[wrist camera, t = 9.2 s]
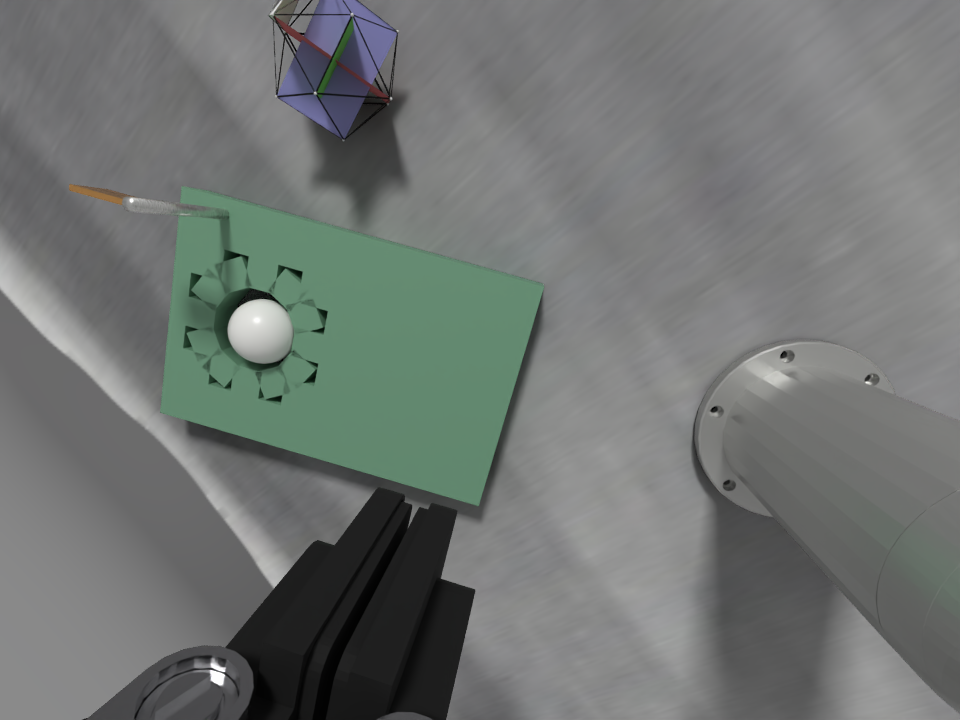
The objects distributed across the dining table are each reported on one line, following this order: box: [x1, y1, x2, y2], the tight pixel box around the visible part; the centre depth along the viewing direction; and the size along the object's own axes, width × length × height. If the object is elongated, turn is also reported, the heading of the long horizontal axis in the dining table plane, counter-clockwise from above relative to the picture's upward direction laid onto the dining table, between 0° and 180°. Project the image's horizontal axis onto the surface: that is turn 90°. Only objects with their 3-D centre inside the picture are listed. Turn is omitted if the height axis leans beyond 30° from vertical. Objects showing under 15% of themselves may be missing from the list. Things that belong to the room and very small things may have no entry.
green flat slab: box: [160, 186, 544, 506], centre depth 33 cm, size 24×16×2 cm, turn 75°
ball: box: [228, 299, 294, 364], centre depth 32 cm, size 4×4×4 cm
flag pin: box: [69, 184, 229, 220], centre depth 28 cm, size 4×1×10 cm, turn 75°
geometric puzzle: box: [269, 0, 399, 141], centre depth 27 cm, size 7×7×8 cm
